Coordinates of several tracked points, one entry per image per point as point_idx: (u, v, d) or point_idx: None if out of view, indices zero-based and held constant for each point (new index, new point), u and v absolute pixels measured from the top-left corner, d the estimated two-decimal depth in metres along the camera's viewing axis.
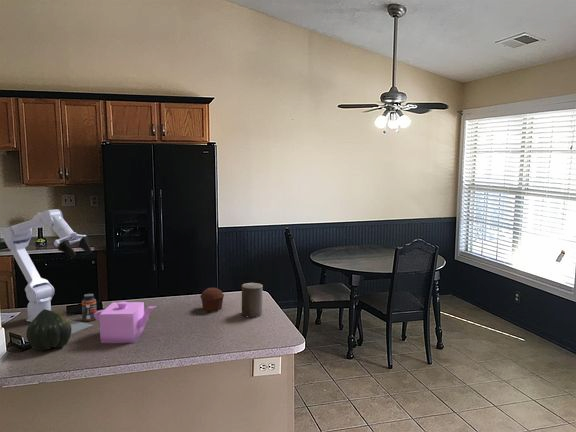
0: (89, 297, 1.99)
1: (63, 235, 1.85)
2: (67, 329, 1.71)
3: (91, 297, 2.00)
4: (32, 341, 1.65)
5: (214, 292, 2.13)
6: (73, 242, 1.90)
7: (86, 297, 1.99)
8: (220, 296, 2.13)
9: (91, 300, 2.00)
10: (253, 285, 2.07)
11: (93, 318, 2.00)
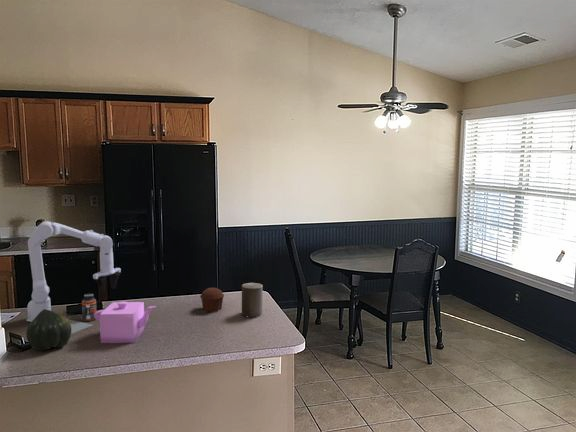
0: (89, 297, 1.99)
1: (104, 269, 2.07)
2: (67, 329, 1.71)
3: (91, 297, 2.00)
4: (32, 341, 1.65)
5: (214, 292, 2.13)
6: None
7: (86, 297, 1.99)
8: (220, 296, 2.13)
9: (91, 300, 2.00)
10: (253, 285, 2.07)
11: (93, 318, 2.00)
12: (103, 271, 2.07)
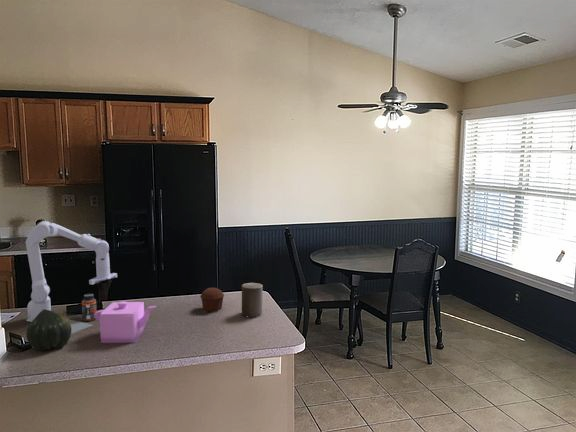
0: (89, 297, 1.99)
1: (100, 274, 2.05)
2: (67, 329, 1.71)
3: (91, 297, 2.00)
4: (32, 341, 1.65)
5: (214, 292, 2.13)
6: None
7: (86, 297, 1.99)
8: (220, 296, 2.13)
9: (91, 300, 2.00)
10: (253, 285, 2.07)
11: (93, 318, 2.00)
12: (99, 276, 2.05)
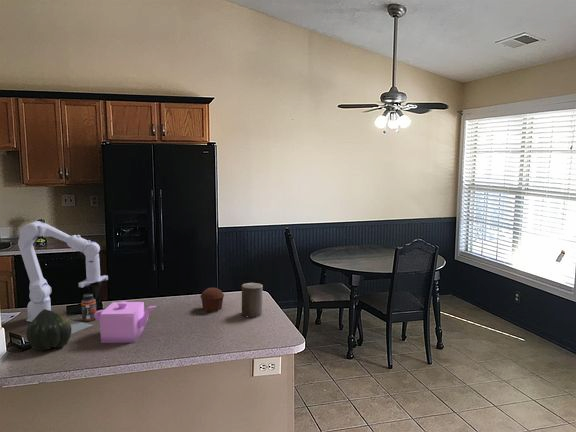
0: (88, 297, 1.99)
1: (90, 277, 2.00)
2: (67, 329, 1.71)
3: (90, 297, 2.00)
4: (32, 341, 1.65)
5: (214, 292, 2.13)
6: None
7: (85, 297, 1.99)
8: (220, 296, 2.13)
9: (91, 300, 1.99)
10: (253, 285, 2.07)
11: (93, 318, 2.00)
12: (89, 279, 2.00)
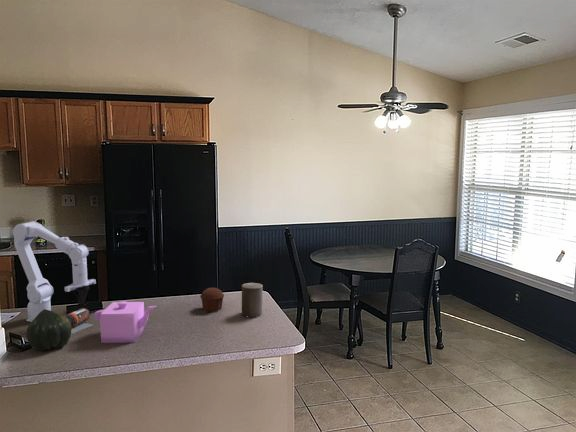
0: None
1: (76, 281, 1.94)
2: (67, 329, 1.71)
3: (71, 323, 1.89)
4: (32, 341, 1.65)
5: (214, 292, 2.13)
6: None
7: None
8: (220, 296, 2.13)
9: (74, 324, 1.90)
10: (253, 285, 2.07)
11: (88, 317, 1.97)
12: (76, 283, 1.94)
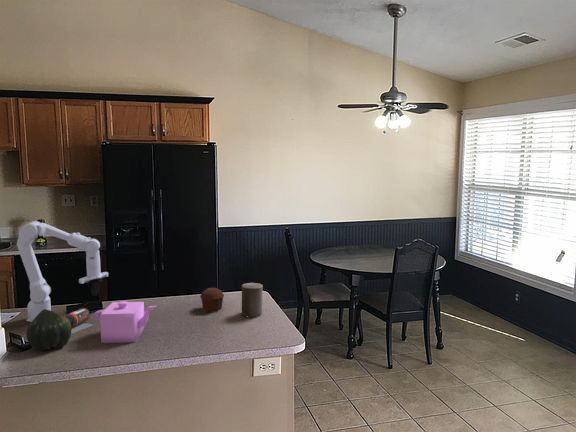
0: None
1: (90, 273, 2.01)
2: (67, 329, 1.71)
3: (71, 323, 1.89)
4: (32, 341, 1.65)
5: (214, 292, 2.13)
6: None
7: None
8: (220, 296, 2.13)
9: (73, 323, 1.90)
10: (253, 285, 2.07)
11: (88, 317, 1.97)
12: (89, 275, 2.01)
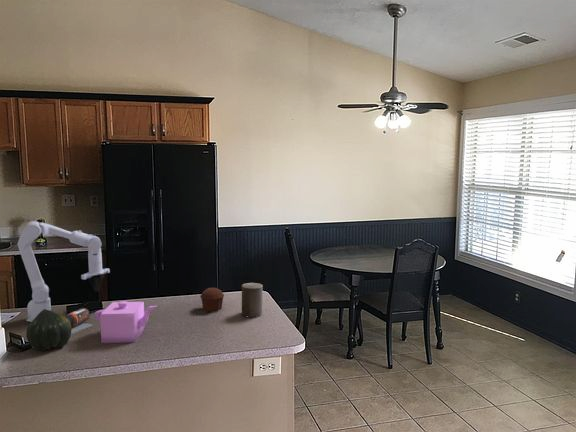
0: None
1: (92, 269, 2.06)
2: (67, 329, 1.71)
3: (71, 323, 1.89)
4: (32, 341, 1.65)
5: (214, 292, 2.13)
6: None
7: None
8: (220, 296, 2.13)
9: (73, 323, 1.90)
10: (253, 285, 2.07)
11: (88, 317, 1.97)
12: (91, 272, 2.06)
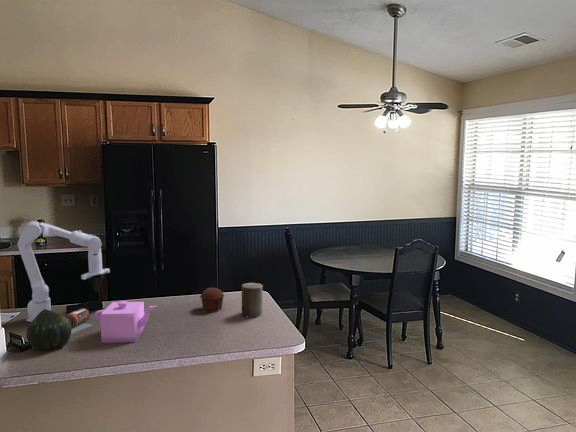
0: None
1: (92, 269, 2.06)
2: (67, 329, 1.71)
3: (71, 323, 1.89)
4: (32, 341, 1.65)
5: (214, 292, 2.13)
6: None
7: None
8: (220, 296, 2.13)
9: (73, 323, 1.90)
10: (253, 285, 2.07)
11: (88, 317, 1.97)
12: (91, 272, 2.06)
